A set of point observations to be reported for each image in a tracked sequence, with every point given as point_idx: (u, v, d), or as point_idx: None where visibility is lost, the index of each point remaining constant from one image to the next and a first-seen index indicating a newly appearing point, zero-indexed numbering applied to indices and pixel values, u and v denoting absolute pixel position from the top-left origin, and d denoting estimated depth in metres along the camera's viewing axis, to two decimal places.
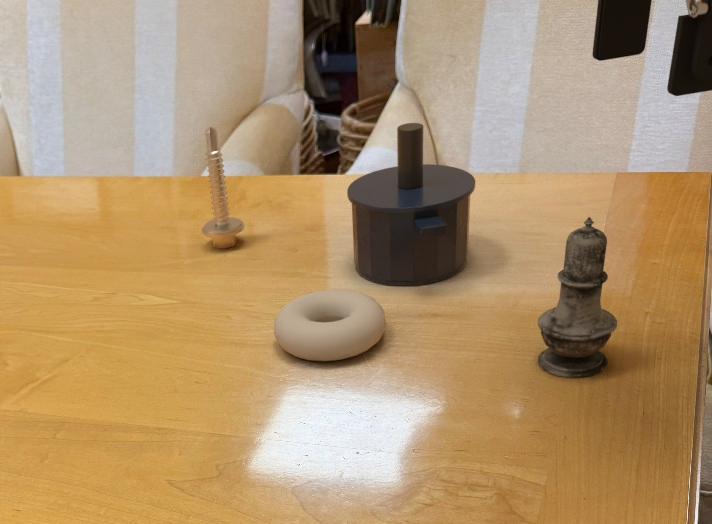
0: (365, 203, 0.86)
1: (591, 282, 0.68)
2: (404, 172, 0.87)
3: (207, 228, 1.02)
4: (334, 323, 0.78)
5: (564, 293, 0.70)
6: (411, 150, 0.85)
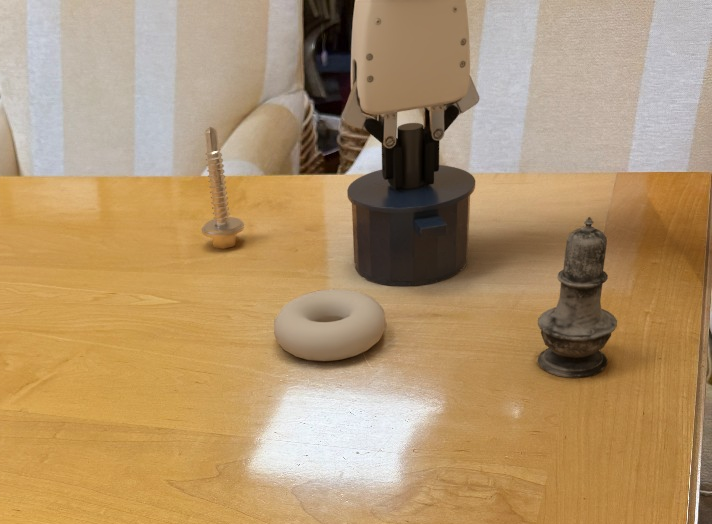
0: (365, 203, 0.86)
1: (591, 282, 0.68)
2: (404, 172, 0.87)
3: (207, 228, 1.02)
4: (334, 323, 0.78)
5: (564, 293, 0.70)
6: (411, 150, 0.85)
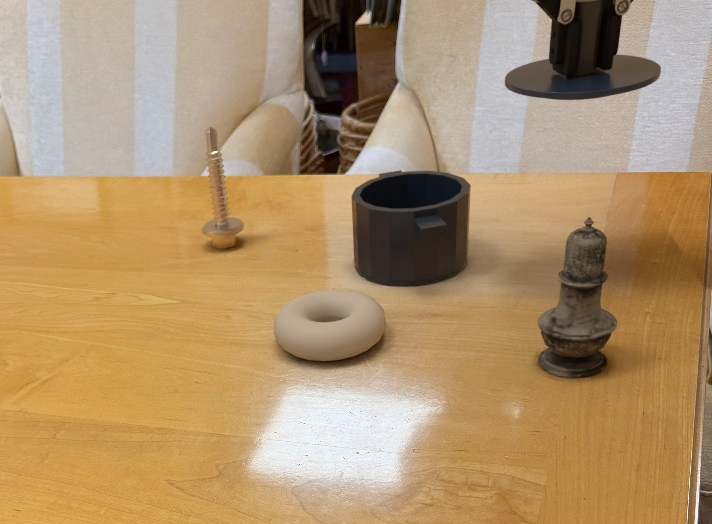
0: (534, 90, 0.74)
1: (591, 282, 0.68)
2: (577, 55, 0.75)
3: (207, 228, 1.02)
4: (334, 323, 0.78)
5: (564, 293, 0.70)
6: (589, 26, 0.73)
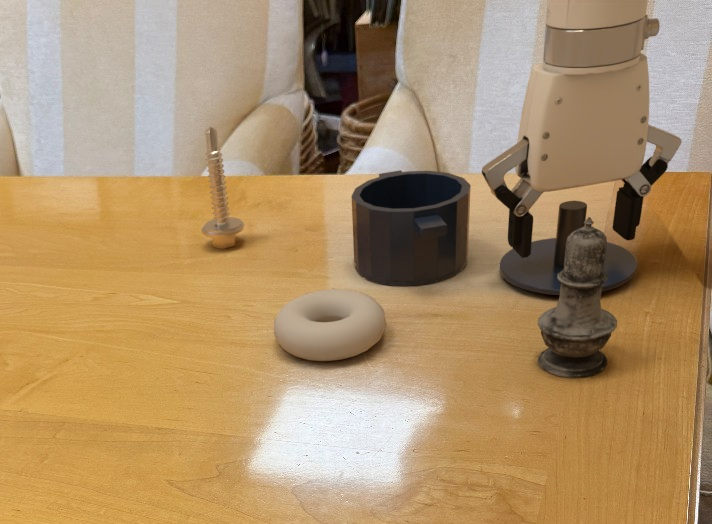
0: (525, 283, 0.84)
1: (591, 282, 0.68)
2: (564, 250, 0.84)
3: (207, 228, 1.02)
4: (334, 323, 0.78)
5: (564, 293, 0.70)
6: (573, 229, 0.83)
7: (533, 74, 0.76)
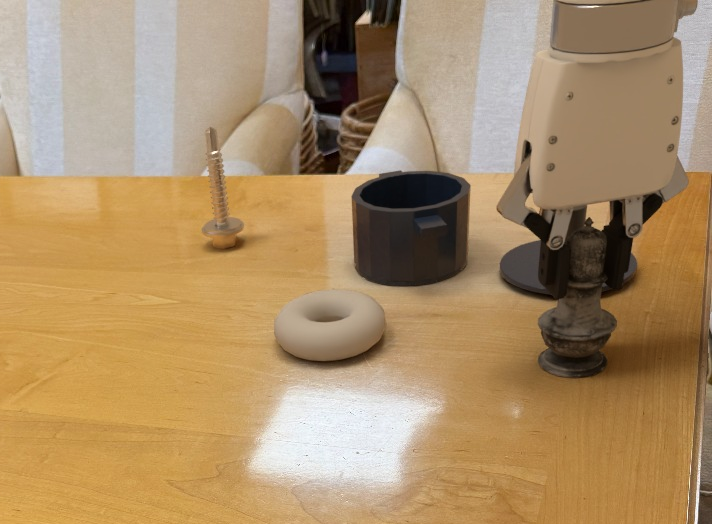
0: (525, 283, 0.84)
1: (591, 282, 0.68)
2: None
3: (207, 228, 1.02)
4: (334, 323, 0.78)
5: None
6: (573, 229, 0.83)
7: (537, 62, 0.61)
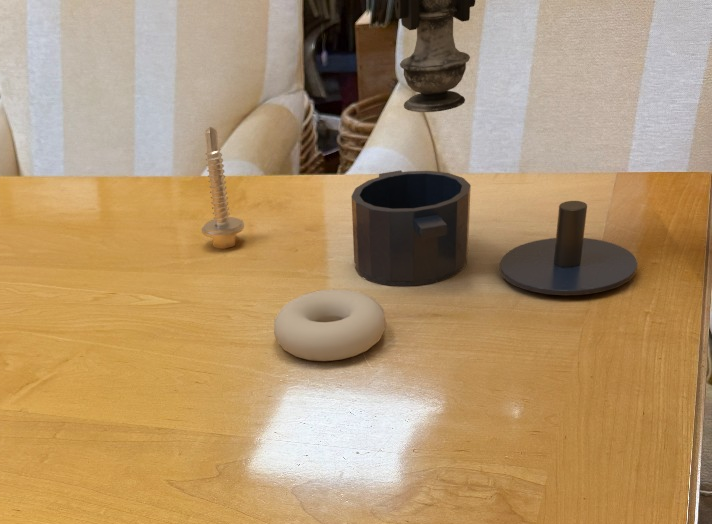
0: (525, 283, 0.84)
1: (440, 11, 0.75)
2: (564, 250, 0.84)
3: (207, 228, 1.02)
4: (334, 323, 0.78)
5: (419, 28, 0.77)
6: (573, 229, 0.83)
7: None
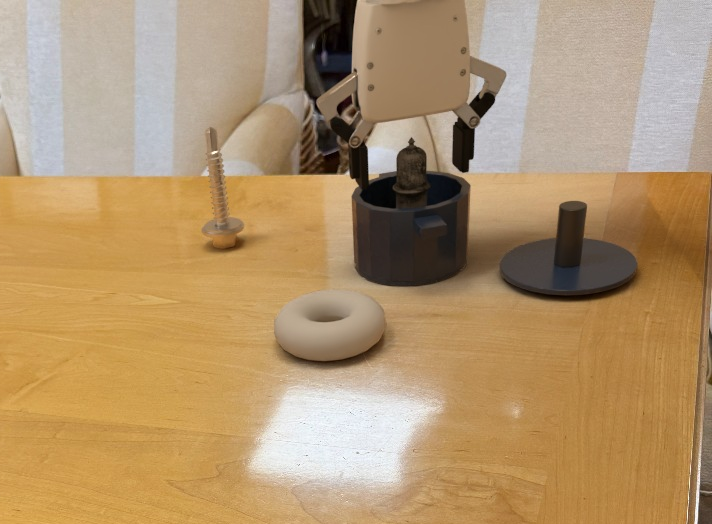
0: (525, 283, 0.84)
1: (415, 189, 0.87)
2: (564, 250, 0.84)
3: (207, 228, 1.02)
4: (334, 323, 0.78)
5: (397, 200, 0.89)
6: (573, 229, 0.83)
7: (357, 6, 0.79)
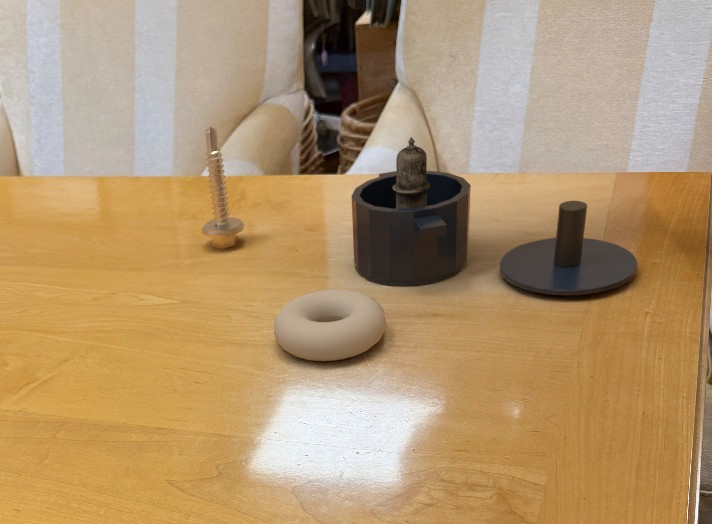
0: (525, 283, 0.84)
1: (415, 189, 0.87)
2: (564, 250, 0.84)
3: (207, 228, 1.02)
4: (334, 323, 0.78)
5: (397, 200, 0.89)
6: (573, 229, 0.83)
7: None
